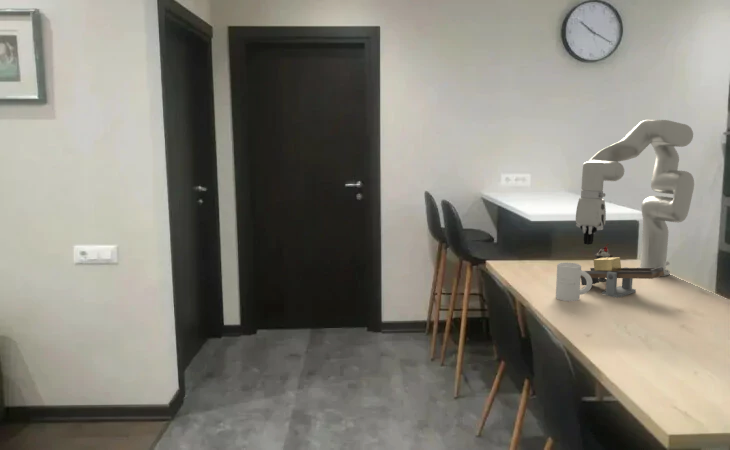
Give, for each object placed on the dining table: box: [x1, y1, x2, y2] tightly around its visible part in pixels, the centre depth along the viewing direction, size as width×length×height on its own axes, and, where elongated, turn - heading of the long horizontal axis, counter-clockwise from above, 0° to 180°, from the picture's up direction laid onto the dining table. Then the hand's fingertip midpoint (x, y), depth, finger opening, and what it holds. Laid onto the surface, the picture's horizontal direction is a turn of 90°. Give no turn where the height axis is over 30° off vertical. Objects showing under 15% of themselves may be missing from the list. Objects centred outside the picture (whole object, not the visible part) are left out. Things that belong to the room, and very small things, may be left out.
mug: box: [555, 262, 593, 302], centre depth 217 cm, size 8×12×12 cm
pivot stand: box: [601, 266, 637, 299], centre depth 224 cm, size 12×6×8 cm, turn 128°
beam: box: [580, 267, 664, 286], centre depth 223 cm, size 8×28×6 cm, turn 38°
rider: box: [593, 256, 622, 271], centre depth 227 cm, size 6×7×5 cm
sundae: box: [594, 243, 614, 283], centre depth 242 cm, size 7×7×15 cm
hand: (588, 243), depth 232 cm, fingers closed
